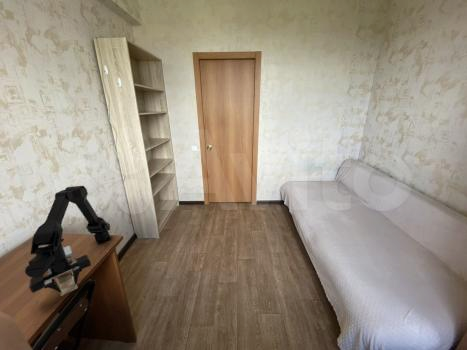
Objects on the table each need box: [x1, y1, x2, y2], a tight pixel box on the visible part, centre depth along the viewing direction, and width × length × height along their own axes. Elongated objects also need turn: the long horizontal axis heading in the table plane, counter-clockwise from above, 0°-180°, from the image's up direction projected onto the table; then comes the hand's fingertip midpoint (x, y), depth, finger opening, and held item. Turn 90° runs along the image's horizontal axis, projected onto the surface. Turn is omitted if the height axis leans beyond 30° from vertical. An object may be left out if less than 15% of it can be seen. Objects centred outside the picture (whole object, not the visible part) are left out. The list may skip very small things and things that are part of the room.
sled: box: [56, 270, 79, 297], centre depth 89 cm, size 6×18×6 cm, turn 46°
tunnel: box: [46, 245, 76, 275], centre depth 96 cm, size 10×8×8 cm
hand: (68, 287), depth 84 cm, fingers open, 5 cm apart
